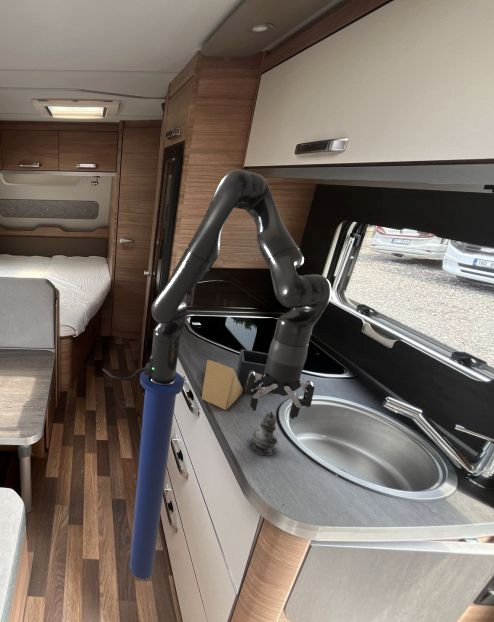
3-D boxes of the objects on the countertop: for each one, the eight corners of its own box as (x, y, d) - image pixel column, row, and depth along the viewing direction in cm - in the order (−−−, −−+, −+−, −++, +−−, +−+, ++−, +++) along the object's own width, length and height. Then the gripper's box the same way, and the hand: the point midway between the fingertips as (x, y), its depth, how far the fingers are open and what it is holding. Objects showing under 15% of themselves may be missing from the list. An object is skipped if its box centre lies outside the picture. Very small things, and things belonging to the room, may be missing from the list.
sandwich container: (245, 391, 115) (253, 352, 109) (226, 411, 104) (235, 369, 99) (220, 380, 120) (227, 343, 115) (200, 399, 110) (207, 359, 105)
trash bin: (236, 386, 116) (241, 361, 112) (236, 372, 124) (241, 348, 121) (267, 393, 113) (274, 367, 109) (265, 378, 121) (271, 354, 117)
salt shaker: (246, 439, 93) (255, 403, 88) (268, 440, 92) (278, 404, 88) (255, 455, 87) (264, 418, 83) (278, 457, 87) (289, 419, 82)
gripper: (318, 355, 80) (301, 410, 86) (252, 345, 85) (241, 398, 91) (325, 370, 74) (307, 429, 80) (254, 358, 79) (242, 414, 85)
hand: (272, 412), depth 86 cm, fingers open, 8 cm apart
